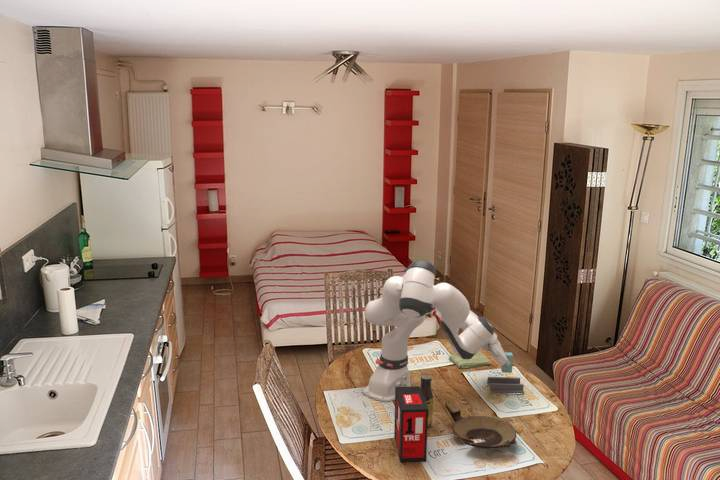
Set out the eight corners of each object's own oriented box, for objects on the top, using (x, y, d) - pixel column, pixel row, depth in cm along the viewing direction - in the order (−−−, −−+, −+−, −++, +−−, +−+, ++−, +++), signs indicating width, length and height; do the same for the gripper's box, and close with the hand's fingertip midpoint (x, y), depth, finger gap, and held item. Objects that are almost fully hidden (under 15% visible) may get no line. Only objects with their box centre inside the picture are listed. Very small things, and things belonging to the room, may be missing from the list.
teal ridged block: (502, 372, 254) (503, 355, 252) (501, 369, 257) (502, 352, 255) (511, 372, 254) (513, 355, 252) (510, 369, 257) (511, 352, 255)
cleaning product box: (394, 436, 220) (395, 386, 216) (417, 435, 221) (419, 386, 216) (400, 462, 204) (402, 410, 200) (426, 461, 205) (428, 409, 200)
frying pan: (474, 466, 203) (475, 446, 201) (434, 422, 230) (435, 404, 229) (529, 454, 210) (531, 434, 208) (484, 412, 238) (485, 395, 236)
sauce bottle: (427, 431, 224) (429, 382, 219) (412, 426, 227) (414, 378, 223) (435, 423, 229) (436, 375, 225) (420, 418, 233) (422, 371, 228)
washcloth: (493, 366, 280) (493, 359, 280) (459, 371, 275) (460, 364, 274) (479, 355, 292) (480, 349, 292) (447, 359, 287) (447, 353, 286)
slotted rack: (490, 393, 253) (491, 385, 252) (486, 382, 263) (487, 375, 262) (523, 394, 253) (524, 386, 252) (518, 383, 262) (519, 376, 262)
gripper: (496, 344, 242) (519, 367, 244) (488, 326, 262) (509, 347, 264) (485, 354, 243) (507, 377, 245) (477, 335, 263) (498, 356, 265)
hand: (508, 361), depth 254 cm, fingers closed on teal ridged block, 3 cm apart
